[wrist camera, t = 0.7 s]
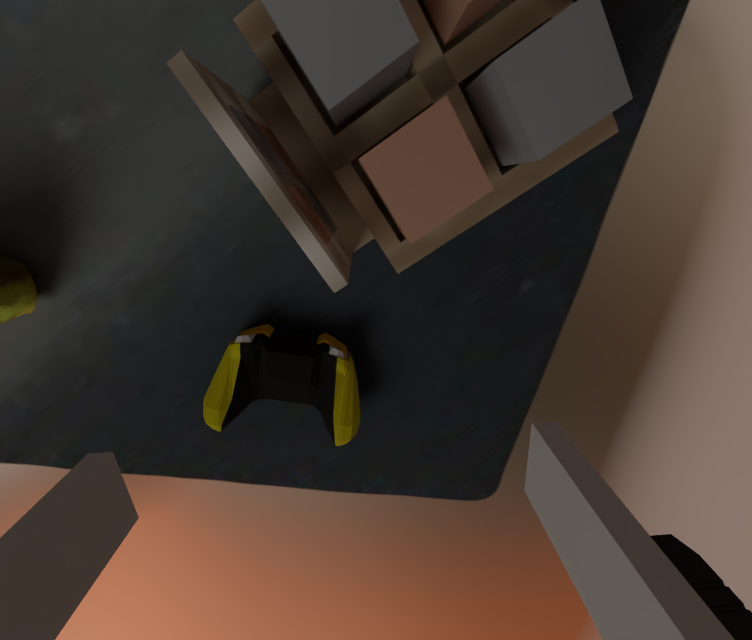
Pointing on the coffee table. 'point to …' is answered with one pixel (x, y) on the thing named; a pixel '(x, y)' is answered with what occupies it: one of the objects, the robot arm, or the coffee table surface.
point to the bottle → (15, 289)
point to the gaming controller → (286, 378)
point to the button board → (368, 134)
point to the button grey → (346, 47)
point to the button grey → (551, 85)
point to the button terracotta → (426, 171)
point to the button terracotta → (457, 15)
